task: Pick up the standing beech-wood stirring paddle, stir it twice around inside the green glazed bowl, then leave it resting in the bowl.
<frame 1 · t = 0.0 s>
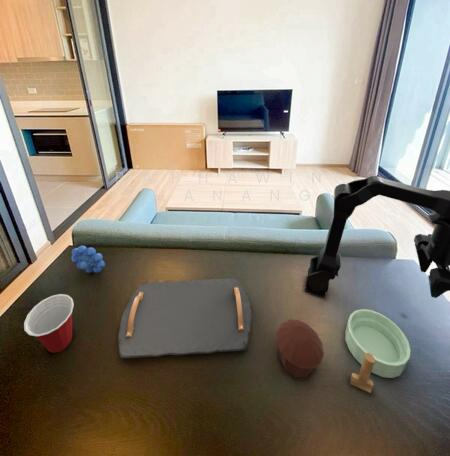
hand: (427, 283, 69), 15 cm above the table, tool pointing down, fingers open, 9 cm apart
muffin: (296, 359, 64), on the table
plastic cup: (60, 343, 68), on the table
bowl: (373, 347, 67), on the table
serving tray: (188, 318, 74), on the table
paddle: (360, 386, 59), on the table
grapes: (89, 274, 90), on the table
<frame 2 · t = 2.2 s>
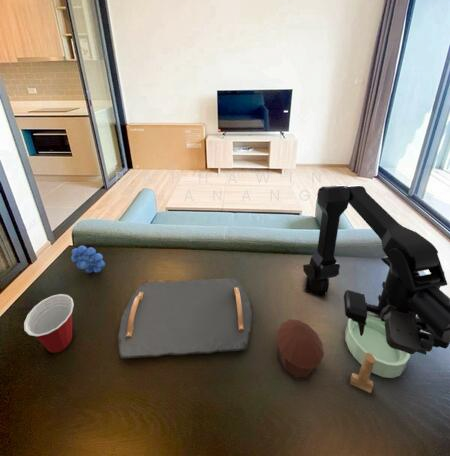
hand: (383, 341, 57), 13 cm above the table, tool pointing down, fingers open, 9 cm apart
nothing on the table moved.
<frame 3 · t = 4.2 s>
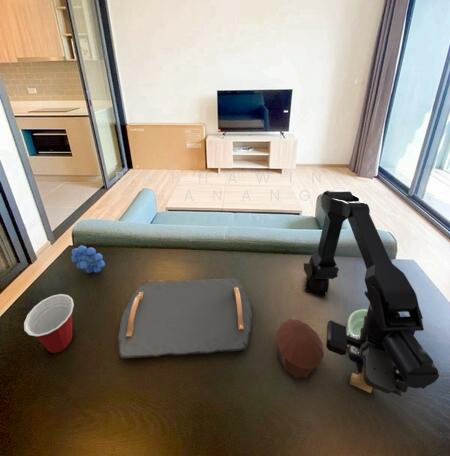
hand: (364, 373, 57), 5 cm above the table, tool pointing down, fingers closed on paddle, 2 cm apart
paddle: (360, 386, 59), on the table, touching gripper
everything else where it was.
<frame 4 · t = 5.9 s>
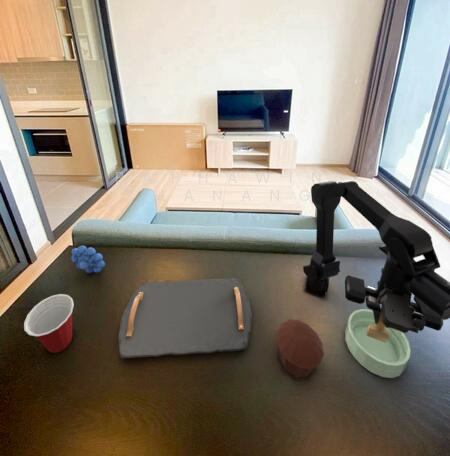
hand: (380, 324, 61), 12 cm above the table, tool pointing down, fingers closed on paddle
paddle: (376, 337, 62), point 7 cm above the table, touching gripper
everything else where it was.
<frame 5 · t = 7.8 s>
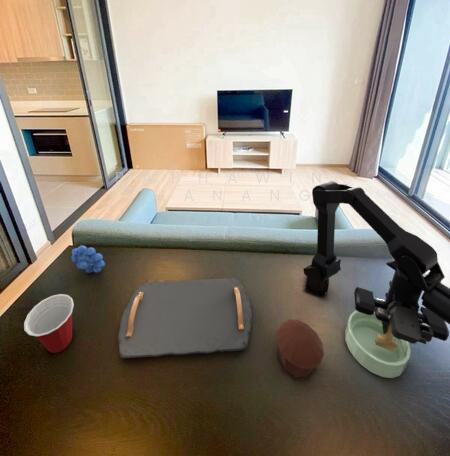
hand: (389, 333, 64), 7 cm above the table, tool pointing down, fingers closed on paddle, 2 cm apart
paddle: (384, 346, 65), point 2 cm above the table, touching gripper
everything else where it was.
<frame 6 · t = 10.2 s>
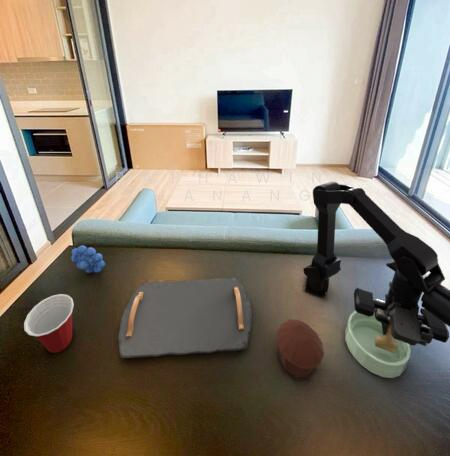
hand: (388, 335, 63), 7 cm above the table, tool pointing down, fingers closed on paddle, 2 cm apart
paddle: (384, 347, 65), point 2 cm above the table, touching gripper
everything else where it was.
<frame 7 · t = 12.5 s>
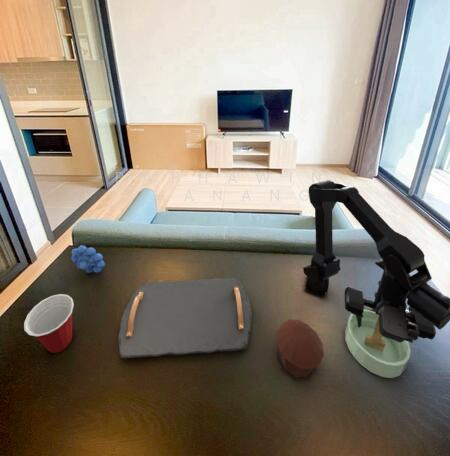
hand: (378, 332, 65), 6 cm above the table, tool pointing down, fingers open, 9 cm apart
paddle: (373, 346, 67), point 1 cm above the table, touching bowl
everything else where it was.
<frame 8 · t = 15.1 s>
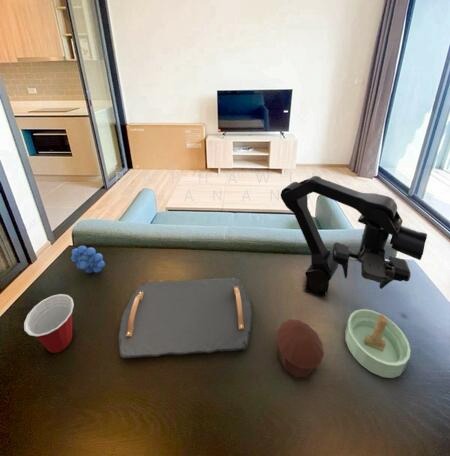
hand: (362, 282, 73), 12 cm above the table, tool pointing down, fingers open, 9 cm apart
nothing on the table moved.
at the end: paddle inside the target area in the bowl (0.0 cm from its centre), point 0.6 cm above the bowl's base; the gripper is holding nothing; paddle moved 11.7 cm from its start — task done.
